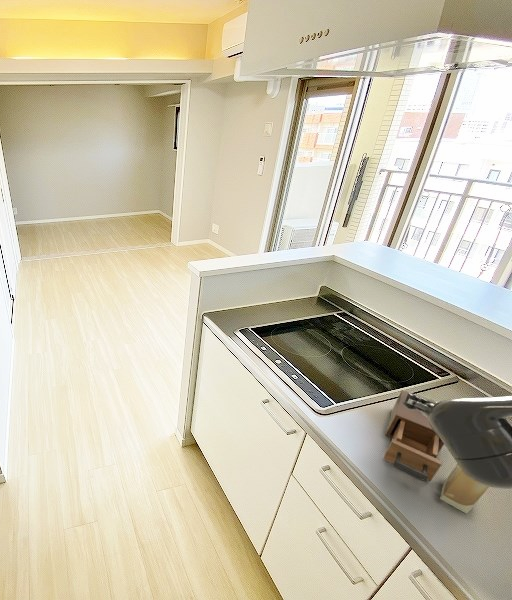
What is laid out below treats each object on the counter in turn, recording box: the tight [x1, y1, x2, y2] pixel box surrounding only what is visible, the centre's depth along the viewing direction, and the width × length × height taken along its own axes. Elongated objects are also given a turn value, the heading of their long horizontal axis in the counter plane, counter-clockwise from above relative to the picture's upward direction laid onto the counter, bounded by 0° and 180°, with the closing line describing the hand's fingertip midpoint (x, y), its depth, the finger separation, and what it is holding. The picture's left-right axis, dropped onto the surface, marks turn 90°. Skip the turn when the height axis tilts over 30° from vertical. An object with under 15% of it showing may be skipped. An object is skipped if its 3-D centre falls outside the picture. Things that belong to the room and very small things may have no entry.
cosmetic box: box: [439, 463, 490, 515], centre depth 67 cm, size 6×4×12 cm
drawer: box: [382, 420, 443, 482], centre depth 75 cm, size 15×8×6 cm, turn 136°
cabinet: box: [385, 389, 445, 454], centre depth 83 cm, size 12×10×8 cm
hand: (449, 415), depth 66 cm, fingers open, 8 cm apart
